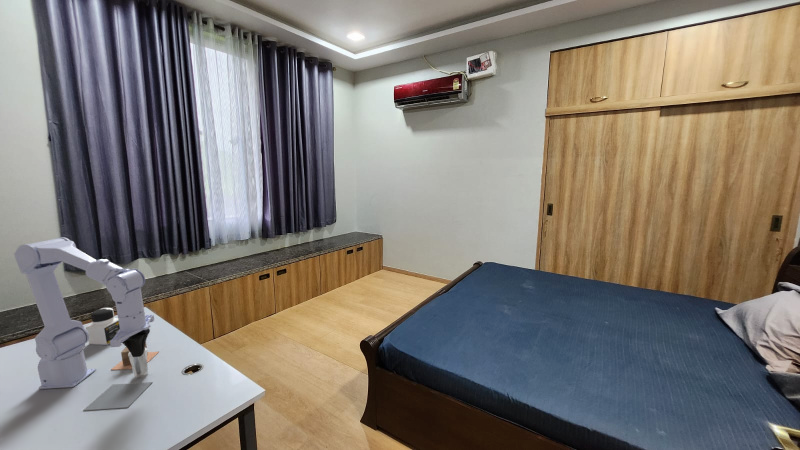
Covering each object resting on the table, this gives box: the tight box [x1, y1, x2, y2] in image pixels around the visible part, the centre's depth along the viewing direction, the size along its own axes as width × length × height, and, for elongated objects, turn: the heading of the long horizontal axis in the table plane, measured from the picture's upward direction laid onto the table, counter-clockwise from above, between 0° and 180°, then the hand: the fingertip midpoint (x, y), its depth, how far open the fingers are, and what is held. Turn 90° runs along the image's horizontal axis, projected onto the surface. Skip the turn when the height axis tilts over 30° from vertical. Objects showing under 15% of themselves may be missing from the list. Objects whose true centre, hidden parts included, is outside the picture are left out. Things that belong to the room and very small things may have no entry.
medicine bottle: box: [85, 307, 120, 345], centre depth 116 cm, size 7×7×12 cm
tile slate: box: [83, 381, 153, 412], centre depth 89 cm, size 11×10×1 cm
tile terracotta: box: [110, 351, 160, 371], centre depth 104 cm, size 9×9×1 cm
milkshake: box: [128, 347, 149, 379], centre depth 96 cm, size 5×5×10 cm
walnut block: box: [120, 341, 149, 366], centre depth 104 cm, size 5×5×5 cm
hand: (138, 355), depth 90 cm, fingers closed
